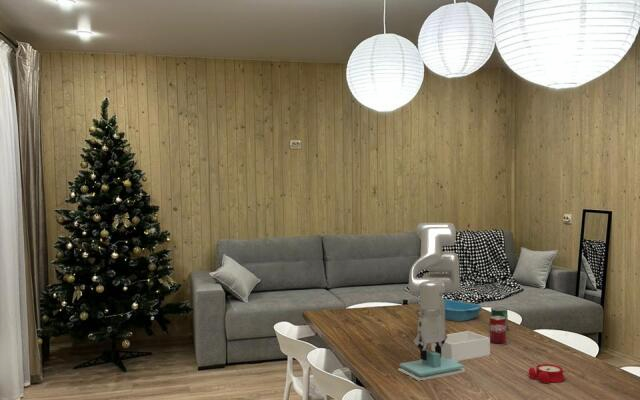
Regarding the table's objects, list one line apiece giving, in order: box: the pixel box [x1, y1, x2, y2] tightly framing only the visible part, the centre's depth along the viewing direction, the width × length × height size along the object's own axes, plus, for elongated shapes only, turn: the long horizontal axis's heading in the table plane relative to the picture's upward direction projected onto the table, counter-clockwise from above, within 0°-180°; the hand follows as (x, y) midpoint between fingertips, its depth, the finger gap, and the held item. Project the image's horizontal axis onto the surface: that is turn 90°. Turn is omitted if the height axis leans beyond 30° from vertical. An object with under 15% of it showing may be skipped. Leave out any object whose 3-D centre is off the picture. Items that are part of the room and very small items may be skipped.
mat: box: [397, 367, 466, 382], centre depth 227 cm, size 14×22×1 cm, turn 115°
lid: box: [399, 348, 465, 377], centre depth 227 cm, size 22×14×7 cm, turn 114°
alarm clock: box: [526, 363, 570, 384], centre depth 215 cm, size 10×6×15 cm
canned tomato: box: [490, 306, 509, 333], centre depth 287 cm, size 8×8×11 cm
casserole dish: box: [418, 298, 482, 322], centre depth 322 cm, size 37×22×7 cm, turn 39°
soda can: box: [489, 316, 508, 346], centre depth 264 cm, size 7×7×12 cm
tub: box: [430, 330, 491, 362], centre depth 246 cm, size 20×14×8 cm
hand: (431, 357), depth 227 cm, fingers open, 6 cm apart
